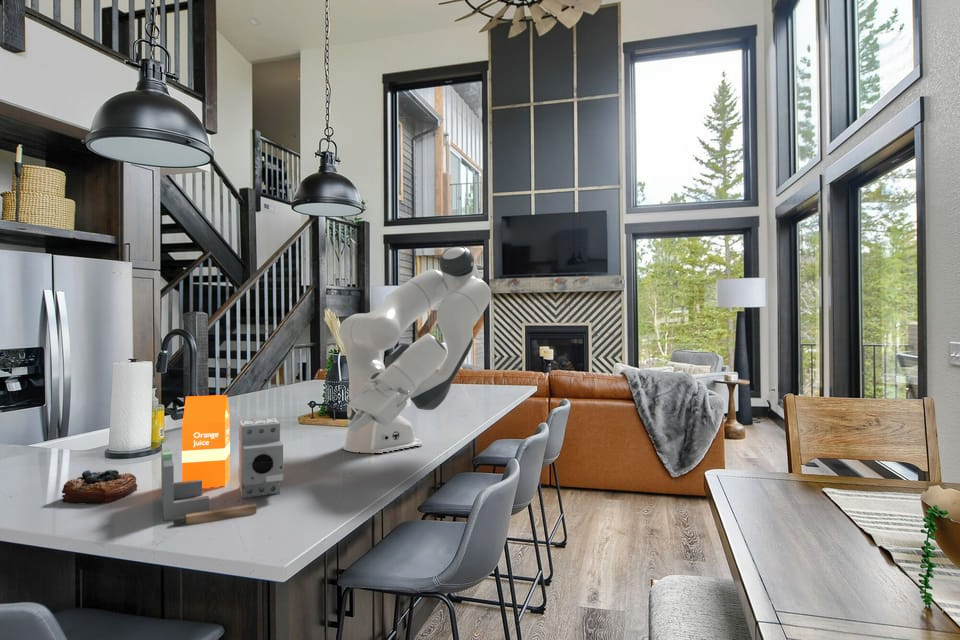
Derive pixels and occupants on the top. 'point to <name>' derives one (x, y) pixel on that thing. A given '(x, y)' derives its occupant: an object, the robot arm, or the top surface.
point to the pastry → (99, 487)
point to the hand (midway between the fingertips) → (351, 429)
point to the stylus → (215, 514)
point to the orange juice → (206, 440)
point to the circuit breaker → (260, 457)
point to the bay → (179, 492)
